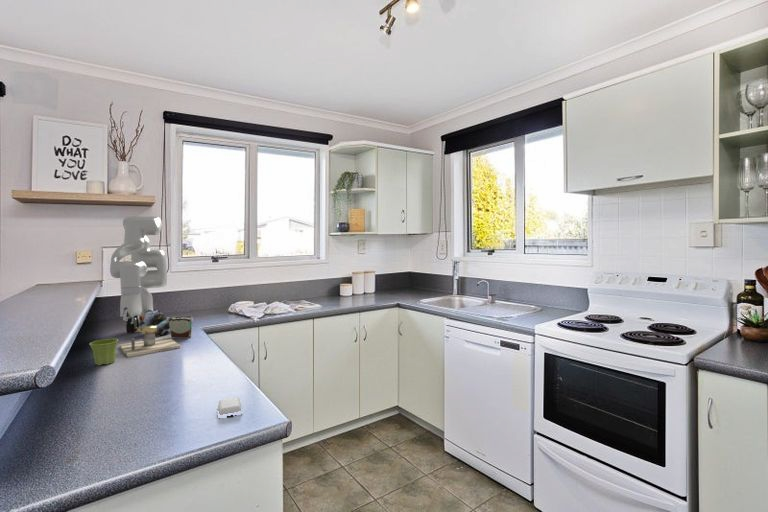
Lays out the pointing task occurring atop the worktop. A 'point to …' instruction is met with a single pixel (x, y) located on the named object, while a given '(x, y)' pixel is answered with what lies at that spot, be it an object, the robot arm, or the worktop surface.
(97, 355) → the plant pot
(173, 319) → the food container
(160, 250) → the robot arm
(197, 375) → the worktop surface
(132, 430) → the worktop surface
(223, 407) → the soap
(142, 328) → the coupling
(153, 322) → the lucky cat figurine
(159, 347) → the post base
